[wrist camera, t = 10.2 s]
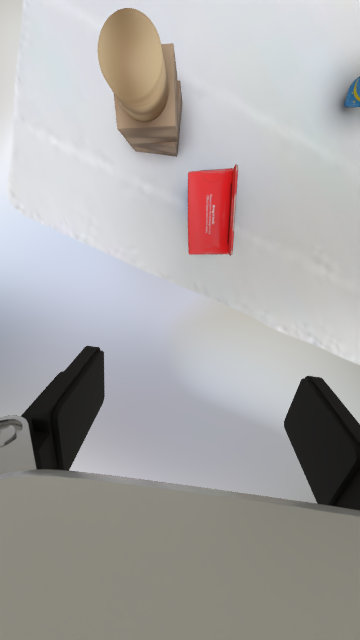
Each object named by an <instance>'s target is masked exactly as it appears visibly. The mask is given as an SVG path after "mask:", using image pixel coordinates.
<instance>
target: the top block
mask: <svg viewBox="0 0 360 640" xmlns="http://www.w3.org/2000/svg"><path fill="white" fill-rule="evenodd" d="M161 47H162V53H163V58H164V63H165V69H166V74H167V79H168V86H169V94H168V100H167V103H166V106H165V108H164V110H163V111H162V113H161V114H160V115H159V116H158V117H157V118H156V119H154V120H152V121H149V122H139V121H136V120H134V119H132V118H131V117H130V116H129V115H128V114H127V113H126V112H125V110H124V109H123V107H122V105H121V104H120V102H119V101H118V99H117V97H116V96H115V94H114V101H115V110H116V120H117V129H118V130H119V131H120V132H121V134H122V135H123V136H124V137H125V139H126V140H127V141H128V142H129V143H130V144H138V143H160V142H178V95H177V71H176V62H175V54H174V45H173V43H172V44H161Z"/></svg>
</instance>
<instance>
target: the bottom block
mask: <svg viewBox="0 0 360 640" xmlns="http://www.w3.org/2000/svg"><path fill="white" fill-rule="evenodd" d="M177 95H178V141H179V130H180V120H181V109H182V95H181V85H180V81H177ZM127 142H128V141H127ZM128 143H129V142H128ZM129 144H130V143H129ZM130 145H131V146H132V148H133V149H134V150H135V151H139V152H147V153H154V154H162V155H170V156H177V151H178V142H160V143H138V144H130Z"/></svg>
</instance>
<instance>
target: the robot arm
mask: <svg viewBox="0 0 360 640" xmlns="http://www.w3.org/2000/svg"><path fill="white" fill-rule="evenodd" d="M103 400H104V352H103V351H100V348H99V347H91V346H86V347H85V348H84V349H83V350H82V351H81V353H80V354H79V355H78V356H77V357H76V358H75V359H74V361H73V362H72V363H71V364H70V365H69V367H68V368H67V369H66V370H65V371H64V372H60V373H59V374H58V375H57V376H56V377H55V378H54V380H53V381H52V382H51V383H50V384H49V385H48V386H47V387H46V389H45V390H44V391H43V392H42V393H41V394H40V395H39V396H38V398H37V399H36V400H35V401H34V402H33V403H32V404H31V406H29V408H28V409H27V410H26V411H25V412H24V413H23V414H22V416H17V415H13V416H5V417H1V418H0V640H360V424H359V423H358V422H357V421H356V419H355V418H354V417H353V416H352V414H351V413H350V412H349V411H348V410H347V408H346V407H345V406H344V405H343V403H342V402H341V401H340V400H339V399H338V397H337V396H336V395H335V394H334V392H333V391H332V390H331V389H330V387H329V386H328V385H327V384H326V383H325V381H324V380H323V379H322V378H320V377H312V376H307V377H305V379H302V380H301V382H300V384H299V387H298V389H297V392H296V394H295V396H294V399H293V401H292V403H291V406H290V408H289V411H288V413H287V415H286V418H285V421H284V427H285V430H286V432H287V435H288V437H289V439H290V441H291V444H292V446H293V448H294V451H295V453H296V455H297V458H298V460H299V462H300V464H301V467H302V469H303V471H304V474H305V476H306V478H307V480H308V483H309V485H310V487H311V490H312V492H313V494H314V497H315V499H316V501H317V503H318V504H315V503H308V502H301V501H294V500H286V499H281V498H273V497H267V496H259V495H252V494H245V493H238V492H230V491H224V490H217V489H209V488H201V487H195V486H188V485H180V484H172V483H165V482H158V481H149V480H142V479H135V478H127V477H120V476H112V475H103V474H94V473H85V472H77V471H69V469H70V467H71V465H72V463H73V461H74V459H75V457H76V455H77V453H78V451H79V449H80V447H81V445H82V443H83V441H84V439H85V437H86V435H87V433H88V431H89V429H90V427H91V425H92V423H93V421H94V419H95V417H96V416H97V414H98V412H99V409H100V407H101V406H102V404H103Z"/></svg>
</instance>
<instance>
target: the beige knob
mask: <svg viewBox="0 0 360 640" xmlns="http://www.w3.org/2000/svg"><path fill="white" fill-rule="evenodd" d="M98 59H99V64H100V68H101V71H102V74H103V76H104V78H105V80H106V81H107V83H108V84H109V86H110V88H111V89H112V91H113V93H114V94H115V96H116V97H117V99H118V101H119V102H120V104H121V105H122V107H123V109H124V110H125V112H126V113H127V114H128V115H129V116H130V117H131V118H132V119H134V120H136V121H139V122H149V121H152V120H154V119H156V118H157V117H158V116H159V115H160V114H161V113H162V111H163V110H164V108H165V106H166V103H167V100H168V94H169V86H168V79H167V74H166V69H165V63H164V58H163V53H162V47H161V42H160V38H159V35H158V33H157V30H156V28H155V26H154V25H153V23H152V22H151V20H150V19H149V18H148V17H147V16H146V15H145V14H143V13H142V12H140V11H138V10H136V9H132V8H124V9H120V10H118V11H116V12H114V13H113V14H112V15H111V16H110V17H109V18H108V19H107V20H106V22H105V23H104V25H103V27H102V30H101V33H100V36H99V41H98Z"/></svg>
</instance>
